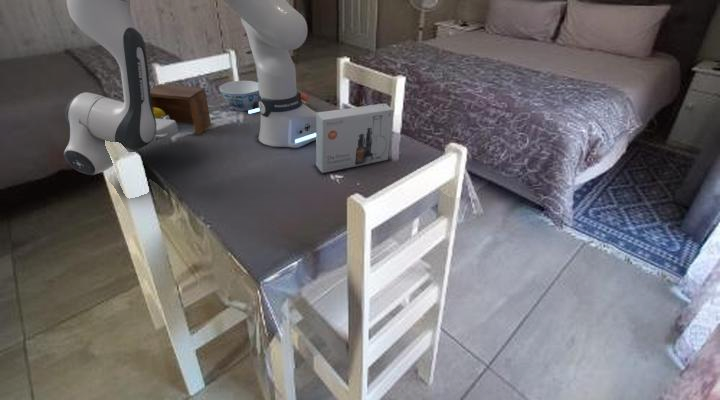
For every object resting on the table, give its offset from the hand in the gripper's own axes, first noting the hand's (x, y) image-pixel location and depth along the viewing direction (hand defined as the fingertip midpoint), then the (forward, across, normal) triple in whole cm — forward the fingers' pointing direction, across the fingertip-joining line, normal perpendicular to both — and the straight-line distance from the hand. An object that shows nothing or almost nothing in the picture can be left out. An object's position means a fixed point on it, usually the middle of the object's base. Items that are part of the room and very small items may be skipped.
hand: (154, 116), depth 114 cm
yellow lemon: (0, 0, +5) cm, 5 cm away
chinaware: (+35, -11, +9) cm, 37 cm away
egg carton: (+39, -29, +9) cm, 50 cm away
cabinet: (+13, 0, +8) cm, 15 cm away
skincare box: (0, -58, +9) cm, 59 cm away
